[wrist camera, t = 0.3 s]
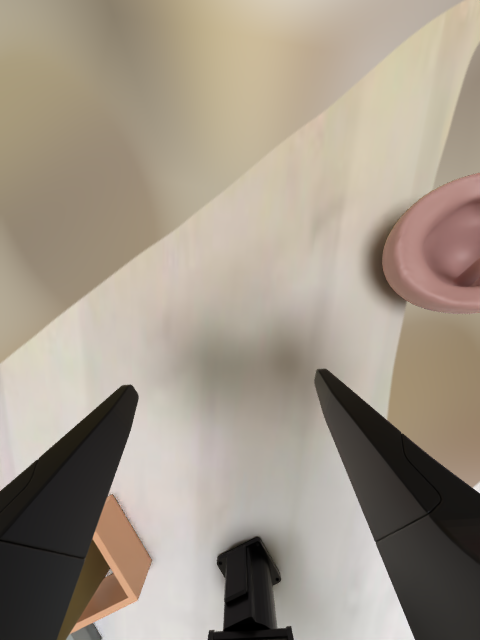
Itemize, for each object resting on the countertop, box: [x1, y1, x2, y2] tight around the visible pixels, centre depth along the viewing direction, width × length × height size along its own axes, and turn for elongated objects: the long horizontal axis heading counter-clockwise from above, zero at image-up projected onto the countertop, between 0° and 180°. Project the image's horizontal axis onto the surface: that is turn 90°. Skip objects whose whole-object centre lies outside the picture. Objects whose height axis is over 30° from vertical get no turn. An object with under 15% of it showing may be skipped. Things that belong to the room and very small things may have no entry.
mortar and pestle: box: [382, 173, 480, 314], centre depth 18 cm, size 12×12×12 cm
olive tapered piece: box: [57, 539, 110, 640], centre depth 20 cm, size 6×6×11 cm
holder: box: [70, 494, 152, 634], centre depth 24 cm, size 11×11×4 cm
